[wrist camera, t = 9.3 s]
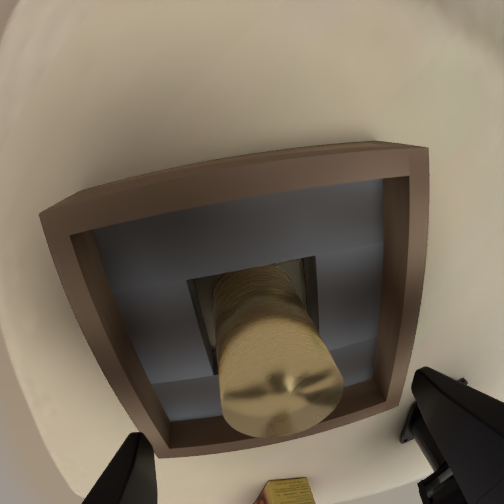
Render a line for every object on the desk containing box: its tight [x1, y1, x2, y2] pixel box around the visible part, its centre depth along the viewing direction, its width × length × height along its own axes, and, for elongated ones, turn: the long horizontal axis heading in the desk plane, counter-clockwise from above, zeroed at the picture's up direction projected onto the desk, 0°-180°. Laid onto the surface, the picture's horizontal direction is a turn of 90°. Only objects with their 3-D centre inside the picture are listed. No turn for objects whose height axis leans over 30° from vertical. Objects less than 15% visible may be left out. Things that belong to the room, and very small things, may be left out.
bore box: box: [39, 141, 429, 458], centre depth 14 cm, size 14×14×4 cm
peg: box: [213, 264, 344, 438], centre depth 12 cm, size 4×4×7 cm
